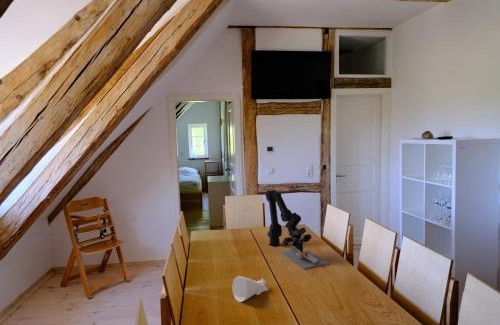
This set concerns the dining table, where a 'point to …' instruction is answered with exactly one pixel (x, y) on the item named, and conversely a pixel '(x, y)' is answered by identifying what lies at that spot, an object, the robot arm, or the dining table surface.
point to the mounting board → (304, 260)
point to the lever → (301, 254)
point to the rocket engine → (247, 288)
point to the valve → (307, 256)
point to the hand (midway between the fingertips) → (302, 252)
